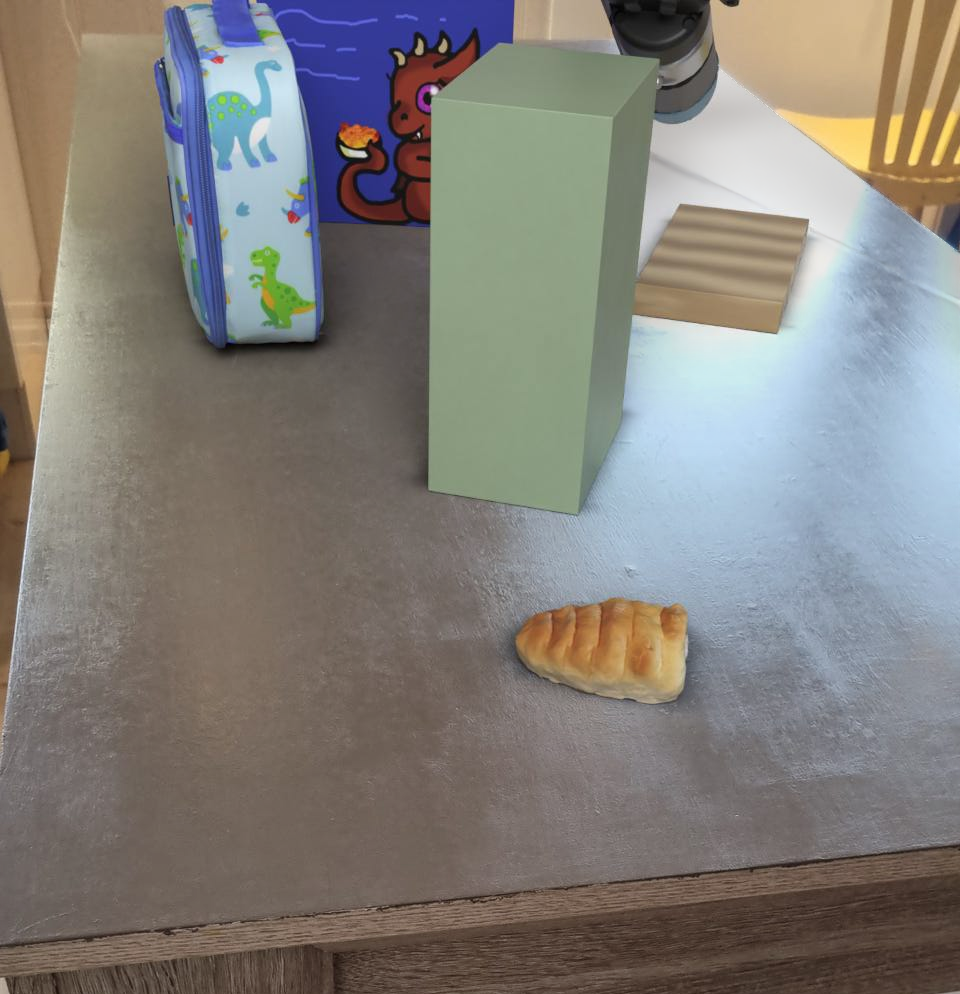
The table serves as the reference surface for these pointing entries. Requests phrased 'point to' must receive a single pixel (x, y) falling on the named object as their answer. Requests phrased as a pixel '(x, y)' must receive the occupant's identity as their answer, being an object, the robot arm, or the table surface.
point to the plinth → (534, 269)
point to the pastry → (610, 648)
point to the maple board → (722, 268)
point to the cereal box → (381, 93)
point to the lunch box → (240, 174)
